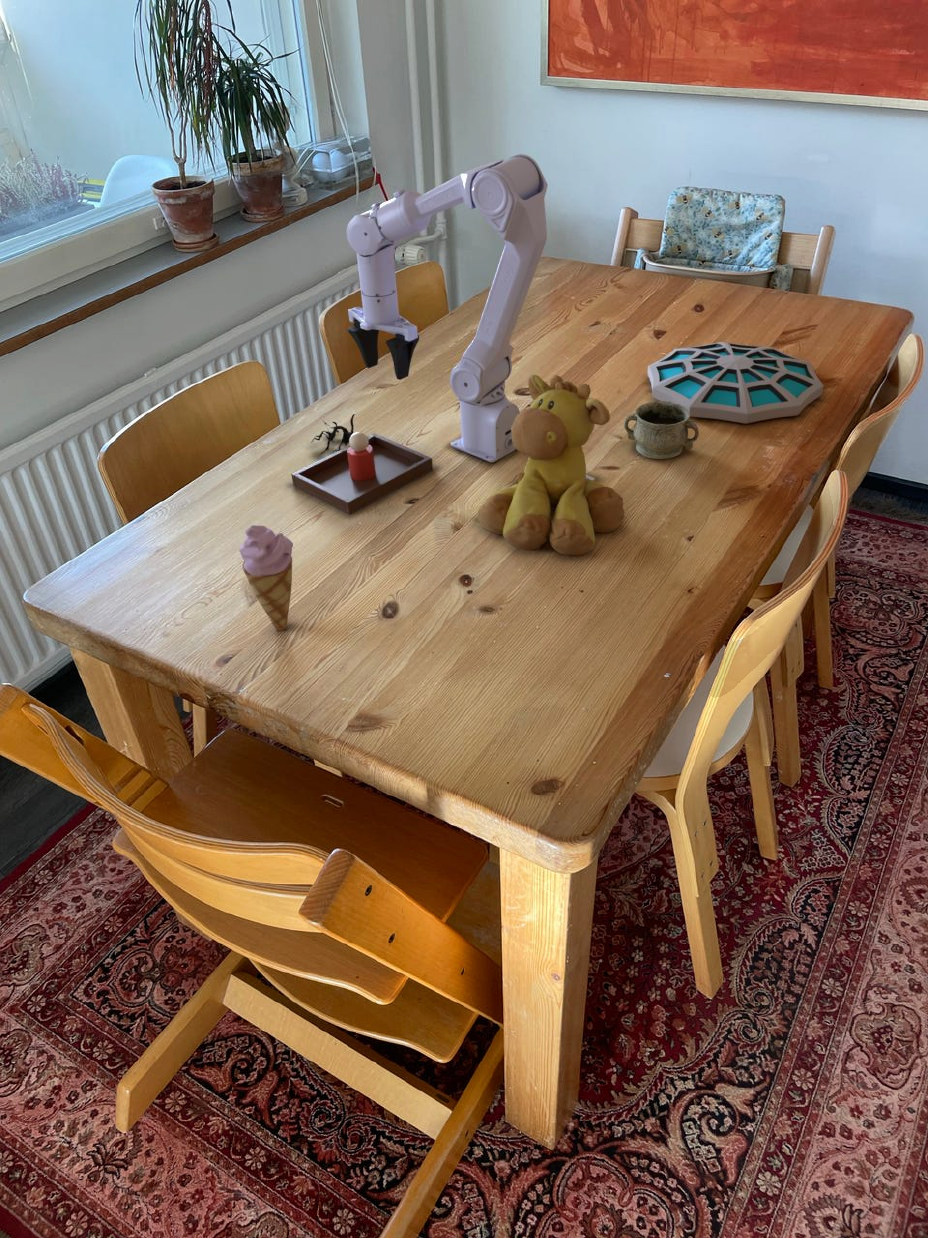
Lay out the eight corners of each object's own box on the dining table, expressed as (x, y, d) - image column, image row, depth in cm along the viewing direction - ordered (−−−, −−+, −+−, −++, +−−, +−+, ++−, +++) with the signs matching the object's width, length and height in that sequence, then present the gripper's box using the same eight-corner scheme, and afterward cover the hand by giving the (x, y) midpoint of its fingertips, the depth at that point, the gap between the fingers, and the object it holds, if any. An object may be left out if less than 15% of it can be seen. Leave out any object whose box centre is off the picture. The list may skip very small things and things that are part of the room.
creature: (307, 462, 156) (351, 455, 153) (296, 433, 153) (340, 426, 150) (322, 440, 162) (364, 433, 159) (311, 412, 159) (354, 404, 156)
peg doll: (380, 473, 148) (376, 431, 144) (361, 483, 146) (356, 441, 142) (364, 465, 151) (358, 424, 146) (345, 475, 148) (339, 433, 144)
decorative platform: (627, 411, 163) (629, 383, 160) (664, 347, 184) (666, 322, 181) (812, 434, 153) (818, 406, 150) (829, 364, 174) (834, 338, 171)
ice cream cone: (260, 612, 122) (237, 513, 113) (307, 607, 122) (289, 509, 113) (255, 644, 117) (231, 543, 108) (305, 640, 117) (286, 539, 108)
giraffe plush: (462, 544, 132) (455, 419, 121) (517, 465, 149) (516, 349, 138) (603, 570, 126) (610, 441, 114) (643, 484, 143) (654, 364, 131)
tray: (433, 469, 150) (432, 457, 148) (349, 514, 140) (347, 502, 139) (375, 444, 157) (374, 433, 156) (293, 485, 148) (291, 473, 146)
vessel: (616, 455, 151) (618, 419, 147) (629, 431, 157) (632, 395, 153) (690, 466, 147) (695, 429, 143) (701, 440, 153) (706, 405, 149)
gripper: (330, 288, 151) (341, 368, 159) (391, 307, 143) (399, 391, 151) (363, 276, 155) (371, 355, 163) (424, 294, 147) (430, 376, 155)
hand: (387, 371), depth 158 cm, fingers open, 7 cm apart
